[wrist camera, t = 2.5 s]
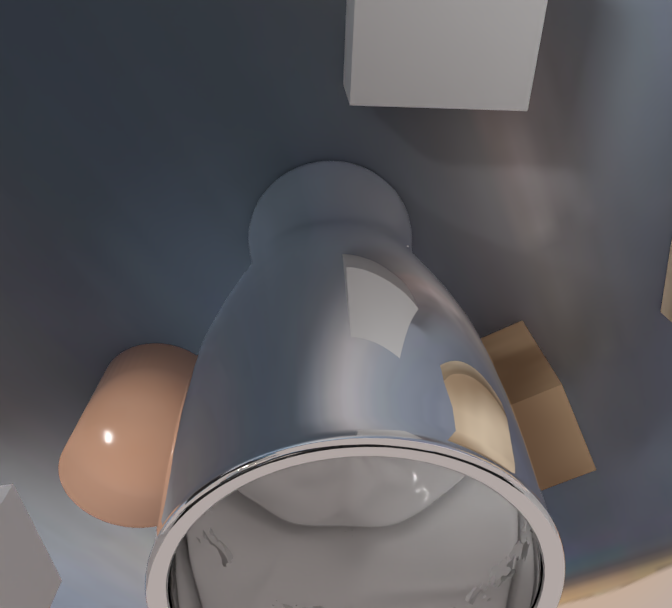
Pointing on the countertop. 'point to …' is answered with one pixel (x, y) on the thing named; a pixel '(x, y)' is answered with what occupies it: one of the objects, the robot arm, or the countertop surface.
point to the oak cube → (539, 407)
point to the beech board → (668, 290)
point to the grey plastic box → (442, 53)
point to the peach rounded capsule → (127, 436)
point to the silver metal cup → (347, 429)
